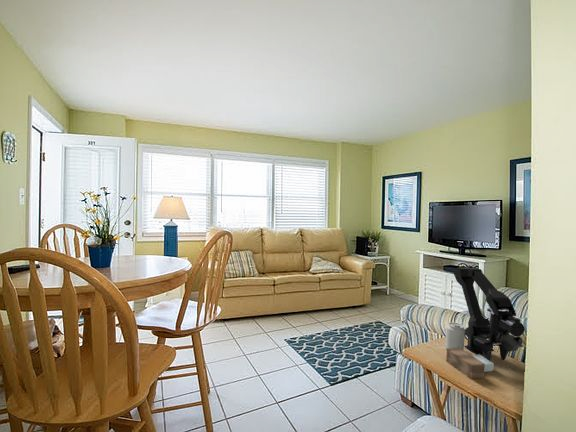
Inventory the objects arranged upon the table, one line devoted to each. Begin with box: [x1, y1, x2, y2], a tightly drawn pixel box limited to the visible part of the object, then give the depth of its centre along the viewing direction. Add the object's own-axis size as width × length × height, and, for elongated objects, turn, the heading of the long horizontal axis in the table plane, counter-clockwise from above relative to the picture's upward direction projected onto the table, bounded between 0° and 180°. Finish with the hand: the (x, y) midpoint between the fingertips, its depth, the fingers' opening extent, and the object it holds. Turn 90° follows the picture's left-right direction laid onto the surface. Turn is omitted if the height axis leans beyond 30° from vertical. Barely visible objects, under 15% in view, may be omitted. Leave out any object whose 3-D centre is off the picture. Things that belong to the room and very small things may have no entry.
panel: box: [472, 354, 495, 373], centre depth 127 cm, size 7×12×3 cm, turn 102°
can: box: [444, 321, 466, 351], centre depth 140 cm, size 8×8×12 cm
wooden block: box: [445, 347, 485, 380], centre depth 125 cm, size 13×6×6 cm, turn 14°
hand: (495, 361), depth 129 cm, fingers open, 7 cm apart
